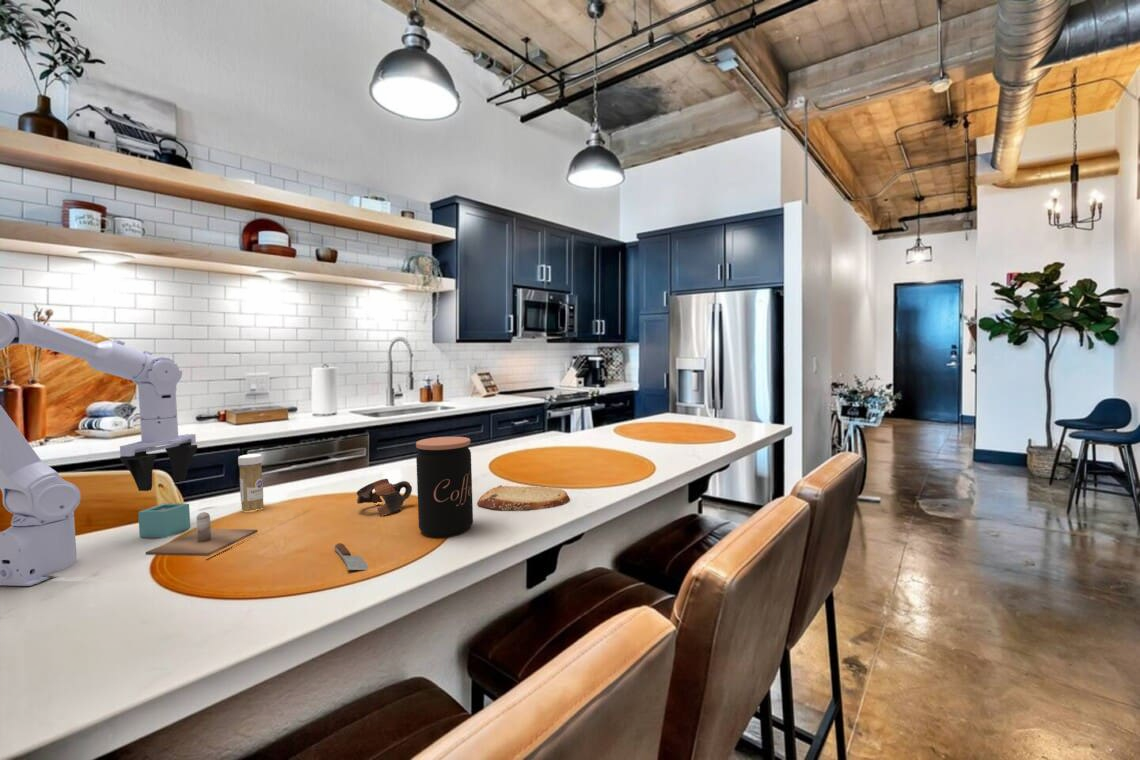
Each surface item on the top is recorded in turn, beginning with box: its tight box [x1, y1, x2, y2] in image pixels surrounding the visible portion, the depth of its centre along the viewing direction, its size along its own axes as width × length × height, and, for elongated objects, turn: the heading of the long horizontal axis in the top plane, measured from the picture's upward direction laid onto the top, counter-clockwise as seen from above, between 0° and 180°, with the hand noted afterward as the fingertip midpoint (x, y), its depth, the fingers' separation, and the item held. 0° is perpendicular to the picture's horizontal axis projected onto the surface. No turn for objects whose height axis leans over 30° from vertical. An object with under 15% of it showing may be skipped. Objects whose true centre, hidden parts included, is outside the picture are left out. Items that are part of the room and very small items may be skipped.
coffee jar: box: [415, 436, 474, 538], centre depth 100 cm, size 11×11×18 cm
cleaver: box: [334, 543, 369, 571], centre depth 87 cm, size 13×2×5 cm
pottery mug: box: [356, 478, 413, 516], centre depth 115 cm, size 12×10×8 cm
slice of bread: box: [476, 485, 571, 512], centre depth 118 cm, size 18×18×4 cm
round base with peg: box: [140, 508, 190, 540], centre depth 100 cm, size 8×8×6 cm
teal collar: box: [137, 502, 191, 538], centre depth 100 cm, size 6×6×5 cm
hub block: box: [145, 511, 258, 561], centre depth 94 cm, size 12×12×6 cm
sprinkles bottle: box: [237, 453, 265, 511], centre depth 114 cm, size 5×5×13 cm
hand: (163, 485), depth 100 cm, fingers open, 7 cm apart
